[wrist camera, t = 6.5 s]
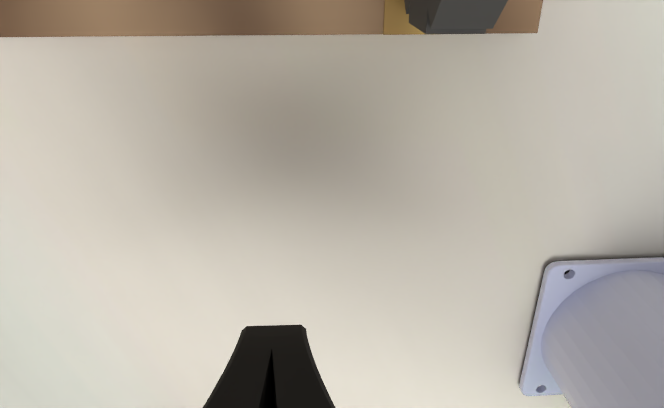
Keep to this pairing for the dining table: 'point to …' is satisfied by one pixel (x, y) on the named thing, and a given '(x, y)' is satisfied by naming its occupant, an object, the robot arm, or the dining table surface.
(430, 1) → the dark grey hex nut
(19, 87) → the dining table surface
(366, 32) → the pipe stand
